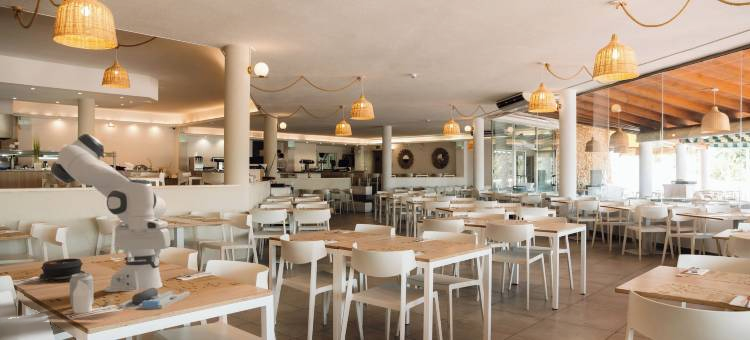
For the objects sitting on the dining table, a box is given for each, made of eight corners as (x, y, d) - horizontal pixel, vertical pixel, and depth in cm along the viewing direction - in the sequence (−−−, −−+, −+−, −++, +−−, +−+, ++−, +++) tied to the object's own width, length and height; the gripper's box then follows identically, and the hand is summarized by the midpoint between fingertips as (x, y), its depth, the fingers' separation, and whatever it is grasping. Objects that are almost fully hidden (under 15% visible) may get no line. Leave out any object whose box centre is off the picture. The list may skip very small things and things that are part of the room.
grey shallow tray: (119, 310, 181) (119, 301, 181) (151, 296, 201) (150, 288, 201) (162, 311, 179) (161, 301, 179) (189, 297, 199) (189, 288, 199)
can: (76, 304, 192) (75, 272, 192) (97, 303, 192) (96, 271, 192) (66, 310, 184) (65, 276, 184) (88, 309, 185) (87, 275, 185)
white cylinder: (95, 278, 180) (80, 281, 175) (96, 312, 180) (81, 316, 175) (82, 277, 182) (68, 280, 177) (83, 311, 182) (69, 315, 177)
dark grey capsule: (142, 305, 184) (142, 293, 184) (132, 305, 185) (131, 294, 185) (158, 298, 194) (157, 287, 194) (148, 298, 195) (147, 287, 195)
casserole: (29, 279, 243) (28, 262, 243) (71, 272, 258) (71, 256, 258) (52, 285, 228) (52, 266, 228) (95, 277, 243) (95, 260, 243)
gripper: (109, 225, 187) (111, 263, 187) (162, 224, 184) (163, 262, 184) (120, 223, 193) (121, 260, 193) (171, 222, 190) (173, 259, 190)
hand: (142, 261), depth 188 cm, fingers open, 8 cm apart
